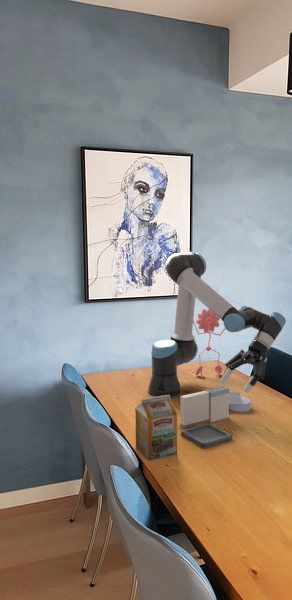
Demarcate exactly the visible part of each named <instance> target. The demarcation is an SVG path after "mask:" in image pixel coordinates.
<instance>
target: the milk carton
mask: <svg viewBox="0 0 292 600" xmlns="http://www.w3.org/2000/svg"><path fill="white" fill-rule="evenodd" d="M140 401H141V402H140V403H139V404H137V405H136V407H135V411H134V412H135V448H136V449H137V450H138V452H140V454H141V455H142V456H143V457H144V458H145V459H146V460H147V461H152V460H157V459H158V460H159V459H163V458H166V457H171V456H177V455H178V413H177V409H176V408H175V406H174V403H173V401H172V399H171V396H170V395H164V396H153V397H151V396H150V397H147V398H145V397H144V398H142V399H141V400H140Z"/></svg>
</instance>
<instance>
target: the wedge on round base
mask: <svg viewBox="0 0 292 600" xmlns="http://www.w3.org/2000/svg"><path fill="white" fill-rule="evenodd" d="M251 401H252V400H251V399H250V398H248V397H244V396H241V392H237V391H236V392H235V391H233V392H230V391H229V410H231V411H233V412H237V413H239V412H240V413H241V412H243V413H244V412H248V411H251Z"/></svg>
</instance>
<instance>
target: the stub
mask: <svg viewBox="0 0 292 600" xmlns="http://www.w3.org/2000/svg"><path fill="white" fill-rule="evenodd" d="M204 391H207V392H210V398H209V423H212V422H213V423H214V422H216V421H217V422H218V421H221V420H224V419H228V418H229V410H230V409H229V392H230V388H229V387H226V386H225V385H224V386H222V385H221V386H218V387H214V388H209V389H205V390H204Z"/></svg>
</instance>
